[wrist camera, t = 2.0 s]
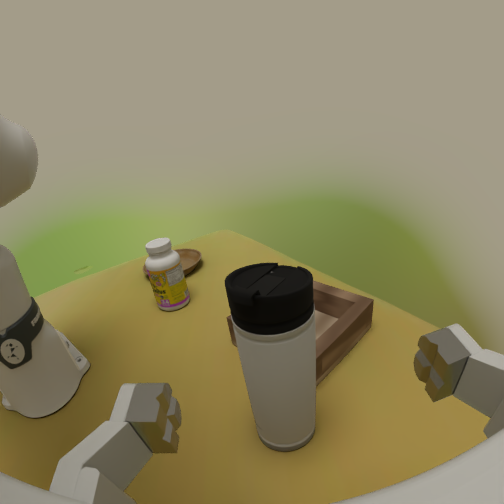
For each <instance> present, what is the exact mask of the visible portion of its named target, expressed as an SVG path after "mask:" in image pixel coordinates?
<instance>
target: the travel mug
mask: <svg viewBox="0 0 504 504" xmlns="http://www.w3.org/2000/svg"><path fill="white" fill-rule="evenodd" d="M225 287H226V292H227V297H228V302H229V306H230V309H231V320H232V323H233V329H234V333H235V338H236V342H237V347H238V351H239V356H240V360H241V364H242V369H243V373H244V377H245V382H246V386H247V390H248V394H249V398H250V403H251V407H252V411H253V415H254V419H255V423H256V427H257V431H258V435H259V437H260V439H261V441H262V442H263V443H264V444H265V445H266V446H267V447H269V448H271V449H274V450H277V451H292V450H296V449H298V448H301V447H302V446H304V445H305V444H307V443H308V442H309V441H310V439H311V438H312V436H313V434H314V431H315V411H316V333H315V306H314V299H313V297H314V293H313V277H312V274H311V273H310V272H309V271H308V270H307V269H305V268H302V267H299V266H298V267H297V268H296V267H291V266H284V265H280V266H278V263H260V264H254V265H249V266H245V267H242V268H239V269H237V270H235V271H233V272H232V273H230V274H229V275H228V276H227V277H226V279H225Z"/></svg>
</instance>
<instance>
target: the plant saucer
mask: <svg viewBox="0 0 504 504" xmlns="http://www.w3.org/2000/svg"><path fill="white" fill-rule="evenodd" d="M174 251H176V252H177V253H178V254H179V256H180V260H181V265H182V269H183V273H184V276H185V275H187V274H189V273H190V272H191V271H193V270H194V269H195V267H196V266H197V264H198V263H199V261H200V259H201V253H200V252H199V251H197V250H194V249H178V250H174ZM143 271H144V273H146V274H147V275H148V272H147V269H146V266H145V265H144V267H143Z"/></svg>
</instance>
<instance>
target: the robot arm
mask: <svg viewBox="0 0 504 504" xmlns="http://www.w3.org/2000/svg"><path fill="white" fill-rule="evenodd" d="M37 165H38V154H37V148H36V145H35V142H34V140H33V138H32V136H31V135H30V133H29V132H28V131H27V130H26V129H25V128H24V127H22V126H21V125H19V124H16V123H14V122H12V121H10V120H8V119H6V118H5V117H3V116H2V115H1V114H0V208H1V207H3V206H5V205H6V204H8V203H9V202H11V201H12V200H14V199H15V198H17V197H18V196H20V195H21V194H22V193H24V192H26V191H27V190H28V189H30V187H31V185H32V184H33V181H34V179H35V176H36V172H37ZM418 347H419V348H420V350H419V351H418V352H417V353H416V355H415V358H414V370H415V373H416V375H417V377H418V379H419V380H420V381H422V382H424V383H426V386H425V390H426V392H427V393H428V395H429V396H430V398H431V400H432V401H433V402H436V401H438V400H441V399H443V398H446V397H448V396H450V395H453V396H454V397H456V398H458V399H459V400H461V401H463V402H464V403H466V404H468V405H469V406H471V407H473V408H474V409H476V410H478V411H479V412H481V413H483V414H484V415H486V416H488V417H490V418H491V419H490V420H489V422H488V423H487V425H486V426H485V428H484V433H485V435H486V436H487V438H488V439H486V440H484V441H483V442H481V443H480V444H478V445H476V446H474V447H473V448H471V449H469V450H467V451H466V452H464V453H462V454H460V455H458V456H456V457H455V458H453V459H451V460H449V461H447V462H445V463H443V464H441V465H439V466H437V467H434V468H432V469H430V470H428V471H426V472H423V473H421V474H419V475H417V476H414V477H412V478H409V479H407V480H404V481H402V482H399V483H396V484H394V485H391V486H388V487H385V488H383V489H380V490H377V491H374V492H370V493H367V494H364V495H361V496H357V497H354V498H350V499H346V500H342V501H339V502H334V503H330V504H504V355H502V354H499V353H496V352H494V351H491V350H488V349H484V350H482V348H481V347H480V346H479V345H478V344H477V343H476V342H475V341H474V340H473V339H472V338H471V336H470V335H469V334H468V333H467V332H466V331H465V330H464V329H463V328H462V327H461V326H460V325H459V324H454V325H451V326H448V327H445V328H442V329H440V330H437V331H434V332H431V333H428V334H425V335H423V336H421V337H420V339H419V341H418ZM89 367H90V363H89V361H88V360H87V359H86V358H85V357H84V356H83V355H82V354H81V353H80V352H79V351H78V349H77V348H76V347H75V346H74V345H73V344H72V343H71V342H70V341H69V340H68V339H67V338H66V337H65V336H64V334H63V333H62V332H59V331H58V330H55V329H54V327H53V326H52V325H51V324H50V323H49V322H48V321H47V320H45V319H44V318H43V316H42V314H41V312H40V308H39V306H38V304H37V303H36V302H35V300H34V298H33V297H30V295H29V293H28V290H27V288H26V285H25V283H24V281H23V278H22V276H21V273H20V270H19V268H18V265H17V262H16V260H15V257H14V256H13V254H12V253H11V251H9V249H7V248H6V247H4V246H2V245H0V391H1V392H2V394H3V399H2V404H3V405H4V407H5V408H6V409H8V410H15V411H18V412H19V413H20V414H22V415H24V416H27V417H32V418H36V417H43V416H46V415H49V414H51V413H53V412H55V411H57V410H58V409H60V408H61V407H62V406H64V405H65V404H66V403H67V402H68V401H69V400H70V399H71V397H72V396H73V395H74V393H75V391H76V390H77V388H78V385H79V382H80V380H81V377H82V376H83V375H84V374H85V372H86V371H87V370H88V369H89ZM171 394H172V389H171V387H170V385H169V384H168V383H138V384H129V383H124V384H123V385H122V386H121V388H120V391H119V394H118V396H117V399H116V402H115V405H114V408H113V411H112V414H111V417H110V420H109V421H105V422H104V423H102V424H101V425H100V426H99V427H98V428H97V429H95V430H94V431H93V432H92V433H91V434H90V435H88V436H87V437H86V438H85V439H84V440H83V441H81V442H80V443H79V444H78V445H77V446H75V447H74V448H73V449H72V450H71V451H69V452H68V453H67V454H66V455H65V456H63V457H62V458H61V459H60V460H59V462H58V465H57V468H56V471H55V474H54V477H53V480H52V483H51V486H50V489H49V491H47V490H44V489H41V488H38V487H36V486H33V485H30V484H28V483H25V482H23V481H20V480H18V479H15V478H13V477H11V476H9V475H6V474H4V473H2V472H0V504H136V502H135V501H134V499H132V498H131V497H130V496H128V495H127V494H126V493H125V492H123V491H124V490H125V489H126V488H127V486H128V485H129V484H130V483H131V481H132V480H133V479H134V478H135V476H136V475H137V474H138V473H139V471H140V470H141V469H142V468H143V467H144V465H145V464H146V463H147V461H148V460H149V459H150V458H151V456H152V455H153V454H152V453H177V451H178V443H179V435H178V434H177V432H176V430H177V429H178V428H179V427H180V426H181V410H180V406H179V403H178V401H177V399H175V398H174V397H172V396H171Z"/></svg>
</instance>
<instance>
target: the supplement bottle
mask: <svg viewBox="0 0 504 504" xmlns="http://www.w3.org/2000/svg"><path fill="white" fill-rule="evenodd" d="M145 247H146V250H147V253H148V254H149V257H148V258H147V259H146V262H145V266H146V269H147V272H148V276H149V279H150V282H151V286H152V289H153V292H154V295H155V298H156V301H157V304H158V306H159V308H161V309H162V310H165V311H173V310H177V309H180V308H182V307H183V306H185V305H186V304H187V303H188V302H189V299H190V296H189V291H188V288H187V284H186V280H185V276H184V273H183V269H182V265H181V260H180V256H179V254H178V253H177V252H176V251H174V250H171V242H170V239H169V238H158V239H155V240H152V241H150V242H149V243H147V244H146V246H145Z"/></svg>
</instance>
